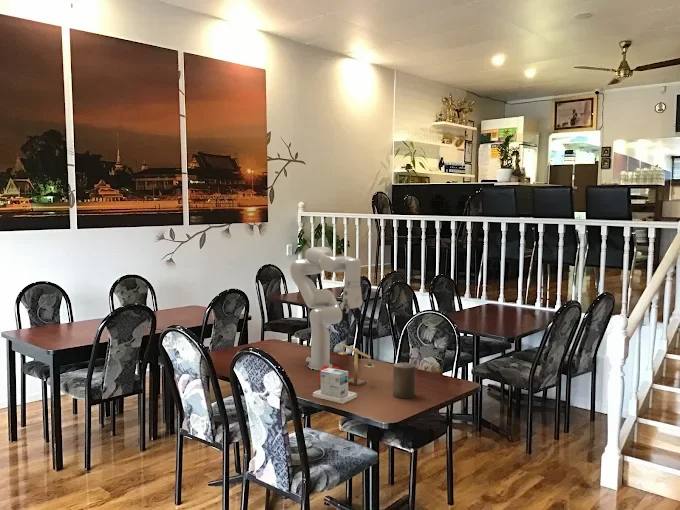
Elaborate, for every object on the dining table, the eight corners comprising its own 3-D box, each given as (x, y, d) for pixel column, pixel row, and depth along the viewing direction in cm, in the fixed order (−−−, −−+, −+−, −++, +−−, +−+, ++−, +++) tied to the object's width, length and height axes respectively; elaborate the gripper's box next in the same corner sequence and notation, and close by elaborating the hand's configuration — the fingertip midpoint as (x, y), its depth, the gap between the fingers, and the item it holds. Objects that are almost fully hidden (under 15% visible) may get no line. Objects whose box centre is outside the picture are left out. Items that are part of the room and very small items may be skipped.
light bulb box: (348, 395, 260) (348, 370, 259) (339, 399, 254) (340, 374, 253) (328, 390, 266) (329, 366, 265) (319, 394, 260) (320, 370, 259)
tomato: (315, 388, 272) (315, 369, 271) (323, 381, 284) (323, 362, 283) (338, 390, 269) (338, 371, 268) (345, 383, 281) (345, 364, 280)
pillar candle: (414, 399, 258) (415, 365, 257) (391, 397, 260) (392, 364, 259) (415, 392, 268) (416, 360, 267) (393, 391, 269) (394, 358, 268)
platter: (312, 396, 260) (312, 392, 260) (327, 390, 269) (327, 386, 269) (342, 403, 251) (342, 399, 251) (357, 397, 260) (357, 393, 260)
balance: (334, 381, 284) (335, 344, 283) (342, 378, 289) (342, 342, 288) (370, 388, 273) (370, 350, 271) (376, 385, 278) (377, 347, 276)
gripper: (347, 286, 274) (346, 323, 276) (369, 283, 288) (367, 317, 290) (335, 285, 279) (334, 321, 280) (356, 281, 292) (355, 315, 294)
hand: (351, 319), depth 285 cm, fingers open, 9 cm apart
